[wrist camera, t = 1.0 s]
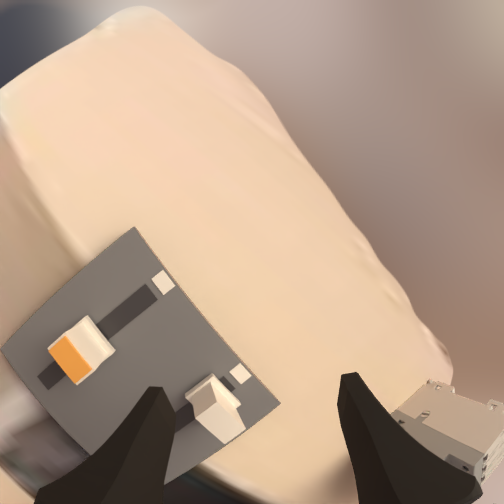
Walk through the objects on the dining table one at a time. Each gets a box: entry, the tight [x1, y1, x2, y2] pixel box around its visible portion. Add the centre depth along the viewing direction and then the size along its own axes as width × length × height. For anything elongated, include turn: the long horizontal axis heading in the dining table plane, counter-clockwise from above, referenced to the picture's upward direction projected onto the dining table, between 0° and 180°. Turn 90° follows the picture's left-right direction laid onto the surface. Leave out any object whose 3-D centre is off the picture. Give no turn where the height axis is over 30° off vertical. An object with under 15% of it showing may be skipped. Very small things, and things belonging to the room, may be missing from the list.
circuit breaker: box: [390, 379, 504, 486], centre depth 23 cm, size 8×14×15 cm, turn 116°
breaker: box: [185, 373, 246, 444], centre depth 21 cm, size 3×4×5 cm
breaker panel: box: [0, 227, 281, 484], centre depth 22 cm, size 18×20×2 cm
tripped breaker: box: [48, 315, 116, 385], centre depth 18 cm, size 3×4×5 cm
